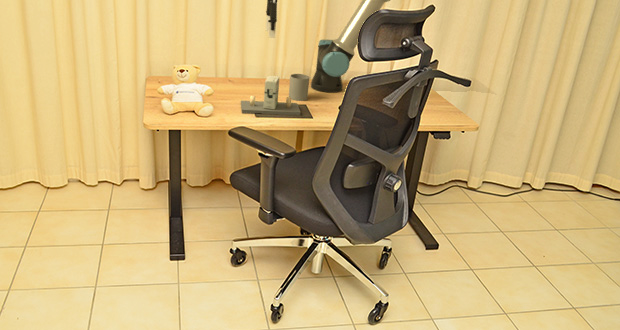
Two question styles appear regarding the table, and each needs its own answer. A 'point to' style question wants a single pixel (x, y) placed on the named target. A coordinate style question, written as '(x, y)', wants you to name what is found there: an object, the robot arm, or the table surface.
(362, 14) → the robot arm
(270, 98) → the ink box
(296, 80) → the cup
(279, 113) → the board
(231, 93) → the table surface
